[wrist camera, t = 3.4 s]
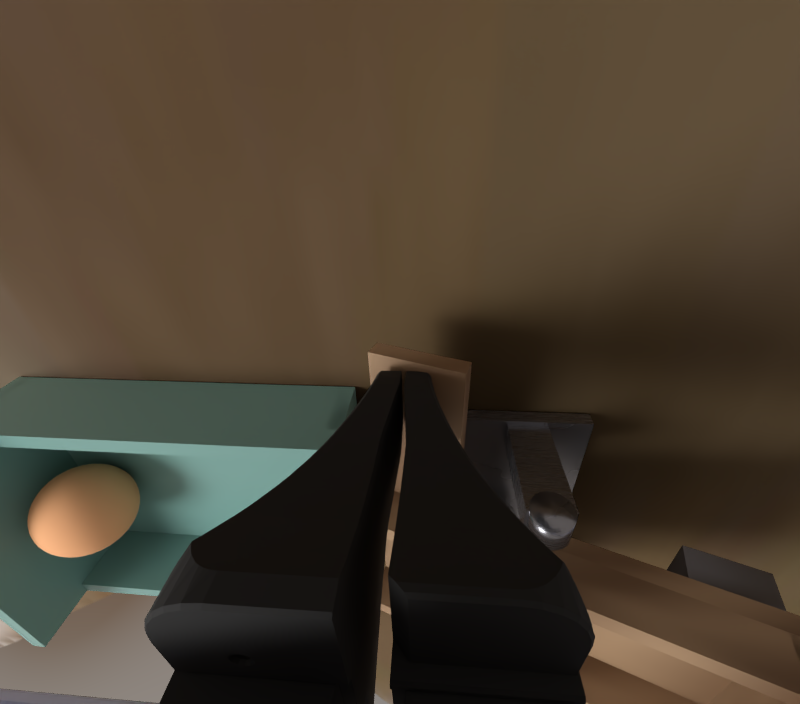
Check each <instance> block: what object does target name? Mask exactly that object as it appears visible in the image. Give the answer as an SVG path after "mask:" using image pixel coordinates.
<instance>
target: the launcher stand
mask: <svg viewBox="0 0 800 704" xmlns="http://www.w3.org/2000/svg"><path fill="white" fill-rule="evenodd" d="M593 426H594V423H593V421H592V419H591V417H590V415H589V414H574V413H545V412H517V411H488V410H468V413H467V424H466V436H465V447H464V451H465V452H466V454H467V455H468V457H469V458H470V460H471V461H472V462H473V464H474V465H475V467H476V468H477V470H478V471H479V472H480V474H481V475H482V476H483V478H484V479H485V480H486V482H487V483H488V484H489V485H490V486H491V488H492V489H493V490H494V491H495V492H496V493H497V495H498V496H499V497H500V498H501V499H502V500H503V502H504V503H505V504H506V505H507V506H508V507H509V509H510V510H511V511H512V512H513V513H514V514H515V515H516V516H517V517H518V518H519V519H520V520H521V521H522V522H523V523H524V525H525V526H526V527H527V528H528V529H529V530H530V531H531V532H532V533H533V534H534V535H535V536H536V537H537V538H538V539H540V540H541V541H542V542H543V543H544V544H545V545H546V546H547V547H548V548H549V549H550V550H560V549H563V548H565V547H566V546H567V545H568V544H569V542H570V539H571V536H572V534H573V531H574V528H575V525H576V522H577V518H578V515H579V512H578V509H577V506H576V503H575V500H574V498H573V495H572V491H573V487H574V484H575V481H576V478H577V475H578V472H579V469H580V466H581V463H582V460H583V457H584V454H585V451H586V448H587V445H588V441H589V438H590V435H591V432H592V429H593Z"/></svg>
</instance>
